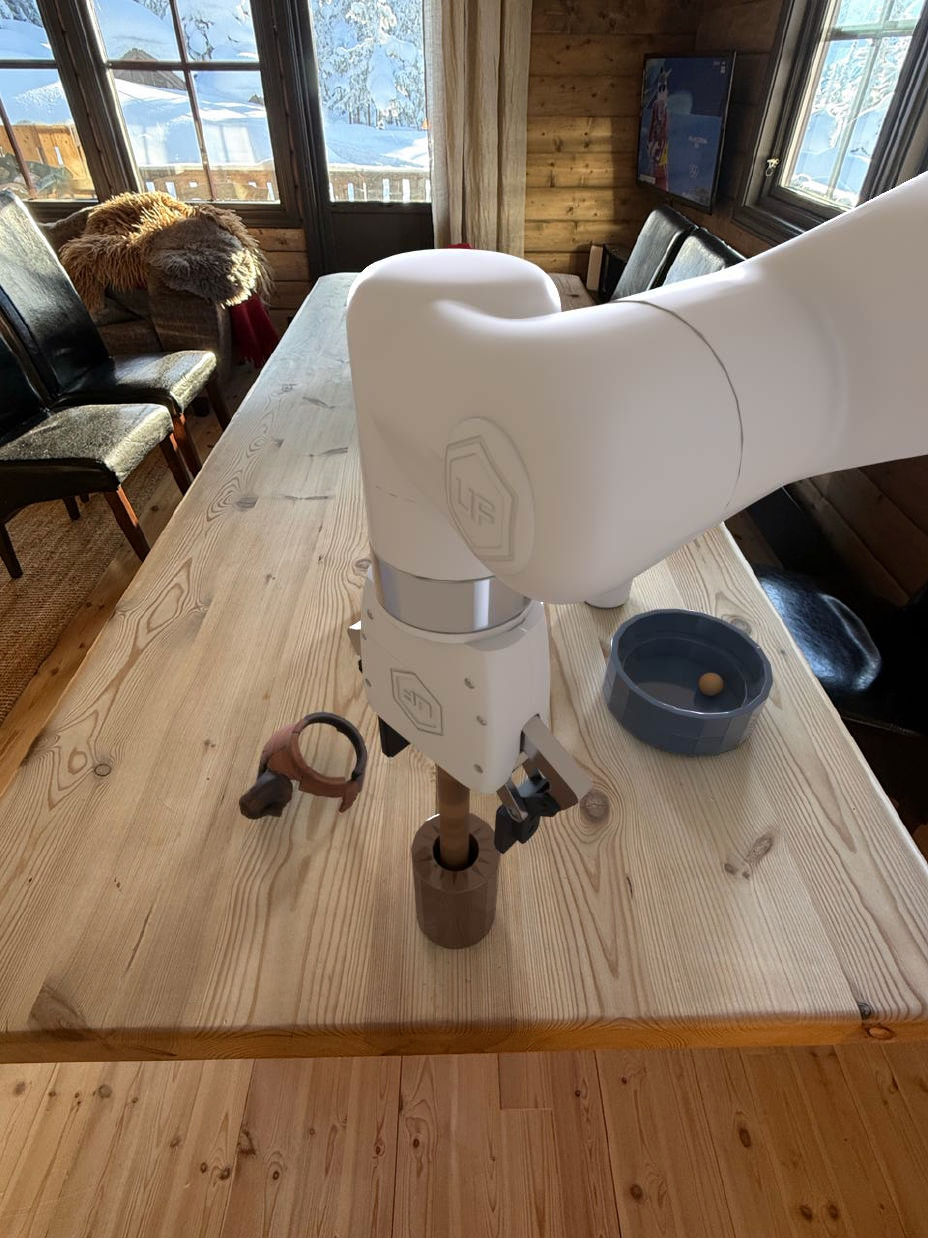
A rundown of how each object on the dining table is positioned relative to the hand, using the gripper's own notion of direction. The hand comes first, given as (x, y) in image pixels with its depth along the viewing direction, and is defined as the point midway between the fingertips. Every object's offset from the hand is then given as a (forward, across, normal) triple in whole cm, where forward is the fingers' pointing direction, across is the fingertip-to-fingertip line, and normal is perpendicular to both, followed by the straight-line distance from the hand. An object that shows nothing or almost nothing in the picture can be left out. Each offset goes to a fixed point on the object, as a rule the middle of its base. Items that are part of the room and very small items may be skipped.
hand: (456, 786), depth 41 cm
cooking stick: (+16, 0, 0) cm, 16 cm away
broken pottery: (+17, -18, -2) cm, 24 cm away
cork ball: (+15, +3, +34) cm, 38 cm away
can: (+17, -15, +41) cm, 47 cm away
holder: (+16, 0, 0) cm, 17 cm away
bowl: (+16, +1, +32) cm, 36 cm away
